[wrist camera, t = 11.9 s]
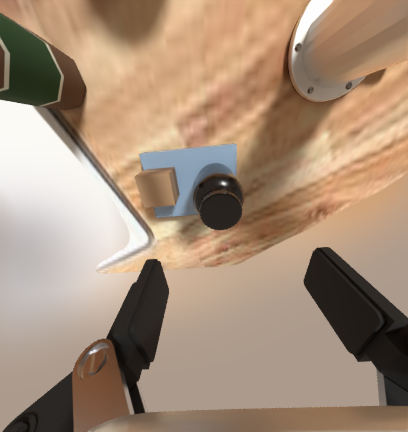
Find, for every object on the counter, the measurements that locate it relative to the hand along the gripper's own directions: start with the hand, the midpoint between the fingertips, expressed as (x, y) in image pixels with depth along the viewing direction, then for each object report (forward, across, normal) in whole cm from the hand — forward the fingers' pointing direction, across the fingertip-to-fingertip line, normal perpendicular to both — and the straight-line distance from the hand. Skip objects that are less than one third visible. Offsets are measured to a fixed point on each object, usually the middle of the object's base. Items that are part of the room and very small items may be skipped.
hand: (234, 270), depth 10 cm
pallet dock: (+23, +4, 0) cm, 23 cm away
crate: (+20, +9, -1) cm, 22 cm away
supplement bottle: (+20, 0, 0) cm, 20 cm away
